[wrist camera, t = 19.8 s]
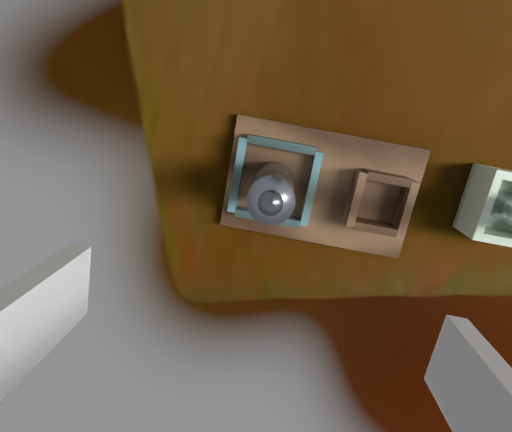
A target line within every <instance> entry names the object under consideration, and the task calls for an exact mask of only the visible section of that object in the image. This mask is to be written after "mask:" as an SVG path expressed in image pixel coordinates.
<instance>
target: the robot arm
mask: <svg viewBox="0 0 512 432" xmlns="http://www.w3.org/2000/svg"><path fill="white" fill-rule="evenodd" d="M90 260H91V246H85V245H80V244H75V243H70V244H68V245H67V246H65V247H63V248H62V249H60V250H59V251H57V252H55V253H54V254H52V255H51V256H49V257H47V258H46V259H44V260H43V261H41V262H39V263H38V264H36V265H35V266H33V267H31V268H30V269H28V270H27V271H25V272H24V273H22V274H21V275H19V276H17V277H15V278H14V279H12V280H11V281H9V282H7V283H6V284H4V285H3V286H1V287H0V403H1V402H2V401H3V400H4V399H5V398H6V397H7V396H8V394H10V392H11V391H12V390H13V389H14V388H15V387H16V386H17V385H18V384H19V383H20V382H21V381H22V380H23V379H24V378H25V377H26V376H27V375H28V374H29V373H30V371H32V370H33V369H34V367H35V366H36V365H37V364H38V363H39V362H40V361H41V360H42V359H43V358H44V357H45V356H46V355H47V354H48V353H49V352H50V351H51V350H52V349H53V348H54V347H55V346H56V345H57V344H58V343H59V341H61V340H62V338H63V337H64V336H65V335H66V334H67V333H68V332H69V331H70V330H71V329H72V328H73V327H74V326H75V325H76V324H77V323H78V322H79V321H80V320H81V319H82V318H83V316H85V315H86V313H87V307H88V292H89V276H90ZM424 379H425V381H426V383H427V385H428V387H429V389H430V391H431V393H432V394H433V396H434V398H435V400H436V402H437V404H438V406H439V407H440V409H441V411H442V413H443V415H444V417H445V419H446V421H447V423H448V424H449V426H450V428H451V430H452V432H512V368H511V367H510V366H509V365H508V364H507V363H506V361H505V360H504V359H503V358H502V357H501V356H500V355H499V354H498V352H497V351H496V350H495V349H494V348H493V347H492V346H491V345H490V344H489V343H488V341H487V340H486V339H485V338H484V337H483V336H482V335H481V333H480V332H479V331H478V330H477V329H476V328H475V327H474V326H473V325H472V323H471V322H470V321H469V320H468V319H466V318H460V317H454V316H450V315H446V318H445V320H444V323H443V326H442V329H441V332H440V335H439V337H438V340H437V343H436V346H435V349H434V352H433V354H432V357H431V360H430V363H429V365H428V368H427V371H426V374H425V377H424Z"/></svg>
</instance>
